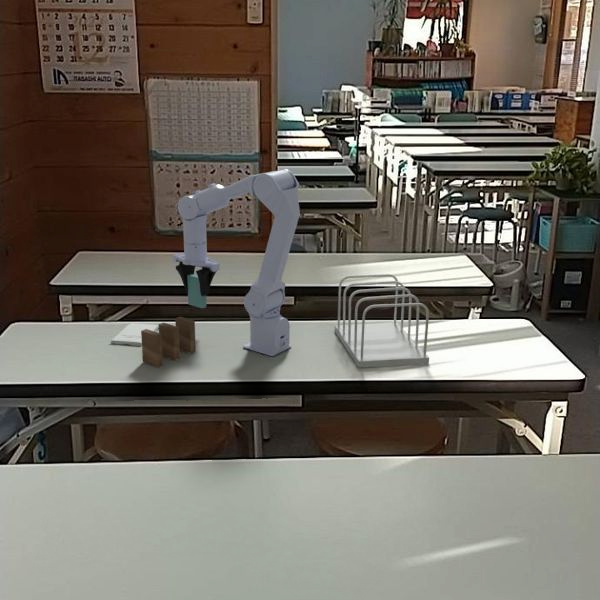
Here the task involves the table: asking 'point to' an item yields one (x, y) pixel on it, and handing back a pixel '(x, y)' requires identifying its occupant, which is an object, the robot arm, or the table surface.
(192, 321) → the domino
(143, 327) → the external hard drive
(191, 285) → the domino
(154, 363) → the domino
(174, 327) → the domino
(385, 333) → the file sorter
